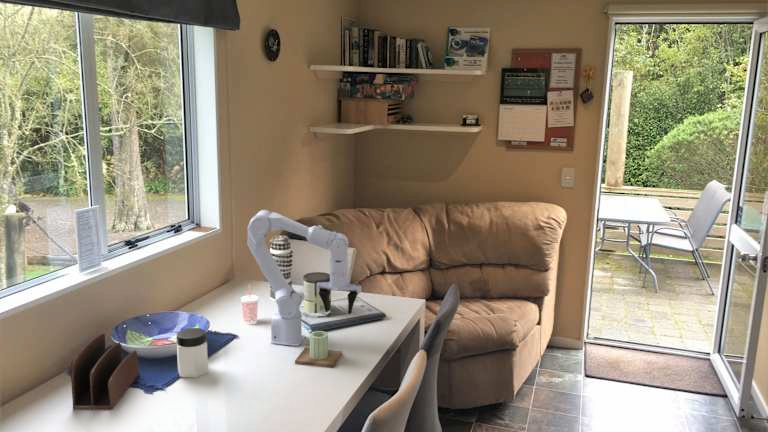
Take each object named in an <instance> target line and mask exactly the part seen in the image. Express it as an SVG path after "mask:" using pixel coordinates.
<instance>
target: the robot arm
mask: <svg viewBox="0 0 768 432" xmlns="http://www.w3.org/2000/svg"><path fill="white" fill-rule="evenodd" d="M246 228H247V243H246V244H247V248H248V249H249V250H250V252H251V254H252V256H253V259H255V261H256V263H257V265H258V266H259V268H260V270H261V272H262V274H263V276H264V277H265V278H266V280H267V282H268V284H269V287H270V286H271V288H272V289H273V291H274V293H275V299H276V302H275V303H276V305H277V309H278V310H277V311H278V312H277V313H274V314H273V316H272V318H271V324H270V328H271V329H270V330H271V331H270V332H271V333H270V335H271V341H270V344H276V345H283V346H285V345H286V346H292V347H293V346H295V347H298V346H300V345H301V343H302V342H303V340H304V339H306V335H305V334H302V311H301V310H300V307H301V305H302V303H303V298H302V296H301V294H300V293H299V292H297V291H296V290H295V289H294V288H293V285H292V286H290V285H289V284H288V283H287V281H286V279H285V278H284V276H283V274H282V272H281V271H280V269H279V267H278V265H277V263H276V262H275V260H274V258H273V256H272V255H271V252H270V249H269V248H268V246H267V244H266V239H267V237H268V234H269V232H271V233H273V232H277V231H279V230H283V231H286V232H289V233H292V234H295V235H298V236H302V237H304V238H305V239H306V241H307V242H308V243H310V244H312V245H315V246H317V247H320V248H323V249H325V250H329V252H330V257H329V274H330V282H318V283H317V284H316V289H317V290H320V291H319V295H320V297H321V299H322V301H323V304H324V307H325V312H328V311H329V295H330V290H331V291H334V292H335V291H336V292H337V291H339V292H349V293H347V314H348V315H351V314H352V313H353V307H354V304H355V302H356V298H357V297H358V294H361V293H362V285H358V284H353V283H348V282H349V281H348V279H349V278H348V277H349V276H348V275H349V274H348V273H349V257H348V256H349V255H348V250H349V239H348V236H346V235H345V234H343V232H336V231H334V230H333V231H331V230H327V229H325V228H323V226H322V225H321V224H319V225H313V226H310V227H309V226H308V225H304V224H302V223H300V222H298V221H295V220H293V219H291V218H289V217H287V216H285V215H284V216H283V215H282V214H280V213H278V212H274V211H273V212H272V211H270V210H267V209H261V210H260V211H258V212H257V213H256V214H255V215H254V216H253V217H251V219H250V221H249V223H248V226H247V227H246ZM271 288H270V289H271Z"/></svg>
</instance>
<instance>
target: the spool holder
mask: <svg viewBox="0 0 768 432" xmlns="http://www.w3.org/2000/svg"><path fill="white" fill-rule="evenodd" d="M342 354H343V351H342V350H336V349H328V357H327V358H325V359H320V360H317V359H312V358H311V357H310V347H308V346H307V347H306V346H305V347H304V348H303V350H302V351H301V352H300V354H298V356H297V357H296V359H295V360H294V364H296V365H305V366H315V367H322V368H323V367H324V368H332V369H334V368H335V366H336V365H337V363H338V361H339V359H340V358H341V356H342Z"/></svg>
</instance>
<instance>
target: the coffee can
mask: <svg viewBox="0 0 768 432" xmlns="http://www.w3.org/2000/svg"><path fill="white" fill-rule="evenodd" d="M302 278H303V311H304V310H305V311H307V312H310V313H321V312H325V307H324V304H323V301H322V299H321V297H320V295H319V291H320V290H317V289H316V284H317V283H318V282H330V273H327V272H322V271H320V272H319V271H315V272H308V273H306V274H304V275H303V276H302ZM330 309H331V310H332V290H330V295H329V310H330Z"/></svg>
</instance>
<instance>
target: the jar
mask: <svg viewBox="0 0 768 432" xmlns="http://www.w3.org/2000/svg"><path fill="white" fill-rule="evenodd" d="M176 358H177V361H176V362H177V372H178V375H179V377H180V378H189V379H191V378H193V379H196V378H198V377H200V376H203V375H205V374H208V373H209V363H208V362H209V361H208V358H209V357H208V341H207V331H206V330H205V329H203V328H200V327H189V328H185V329H181V330H179V331H177V333H176Z"/></svg>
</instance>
